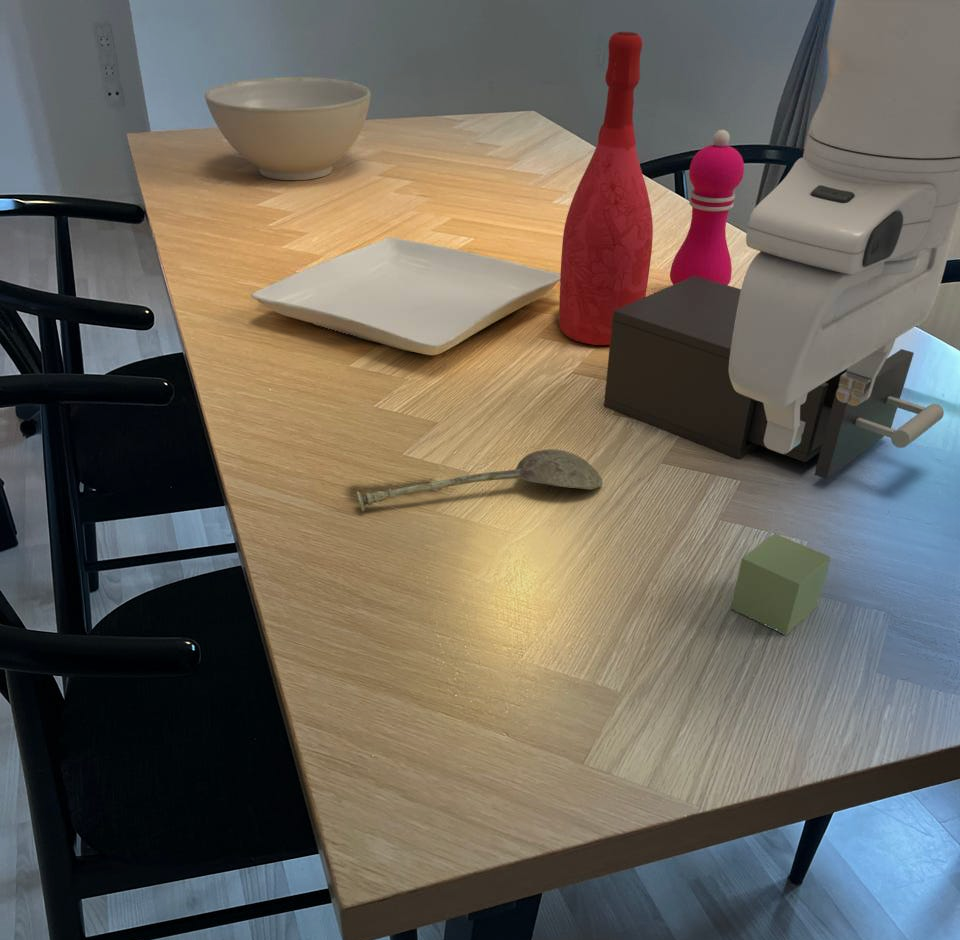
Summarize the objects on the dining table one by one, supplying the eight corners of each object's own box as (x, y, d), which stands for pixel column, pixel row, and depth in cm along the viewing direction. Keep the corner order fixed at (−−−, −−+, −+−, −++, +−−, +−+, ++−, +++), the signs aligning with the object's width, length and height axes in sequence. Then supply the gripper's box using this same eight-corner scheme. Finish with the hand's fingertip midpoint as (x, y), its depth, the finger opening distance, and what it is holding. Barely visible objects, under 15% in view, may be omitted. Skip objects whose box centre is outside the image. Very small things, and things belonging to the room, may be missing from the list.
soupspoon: (612, 503, 86) (586, 470, 91) (617, 468, 84) (590, 436, 89) (364, 528, 80) (351, 492, 86) (362, 491, 78) (349, 456, 84)
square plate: (565, 302, 121) (567, 270, 119) (437, 379, 103) (437, 343, 101) (391, 260, 133) (390, 230, 130) (249, 322, 115) (245, 289, 112)
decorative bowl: (376, 152, 179) (372, 76, 171) (373, 192, 158) (368, 108, 150) (228, 152, 177) (217, 76, 170) (205, 193, 157) (192, 108, 149)
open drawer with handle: (941, 449, 91) (969, 368, 86) (880, 500, 83) (906, 415, 78) (755, 385, 101) (771, 310, 96) (687, 426, 94) (699, 346, 89)
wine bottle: (619, 356, 109) (652, 43, 90) (541, 337, 112) (558, 33, 93) (655, 328, 115) (693, 30, 96) (580, 310, 119) (603, 21, 100)
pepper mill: (731, 305, 121) (762, 126, 108) (716, 325, 116) (748, 140, 103) (674, 296, 123) (699, 120, 111) (658, 315, 118) (681, 133, 106)
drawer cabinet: (811, 411, 99) (835, 316, 92) (738, 459, 91) (759, 358, 84) (680, 365, 107) (694, 275, 101) (603, 406, 99) (612, 310, 93)
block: (816, 608, 73) (831, 557, 70) (785, 635, 70) (799, 584, 68) (762, 583, 75) (774, 532, 73) (730, 609, 73) (741, 558, 70)
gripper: (903, 155, 62) (847, 362, 71) (731, 220, 50) (689, 459, 59) (1003, 175, 59) (931, 389, 68) (844, 249, 47) (782, 497, 56)
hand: (817, 423), depth 63 cm, fingers open, 8 cm apart
